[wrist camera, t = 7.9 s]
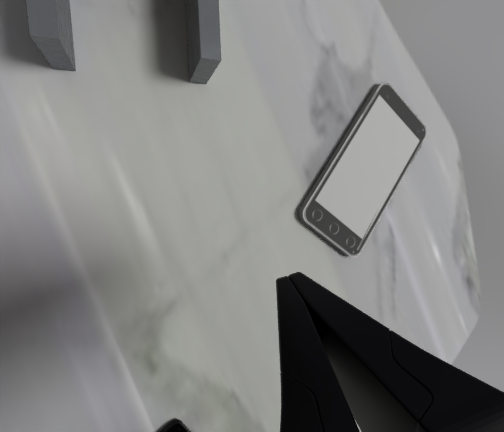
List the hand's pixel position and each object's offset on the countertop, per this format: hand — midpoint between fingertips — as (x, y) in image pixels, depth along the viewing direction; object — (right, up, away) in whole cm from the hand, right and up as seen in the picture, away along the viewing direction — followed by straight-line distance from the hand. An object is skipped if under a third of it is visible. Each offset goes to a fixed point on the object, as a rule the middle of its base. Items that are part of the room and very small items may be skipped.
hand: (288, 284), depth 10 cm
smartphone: (+9, +7, +18) cm, 21 cm away
